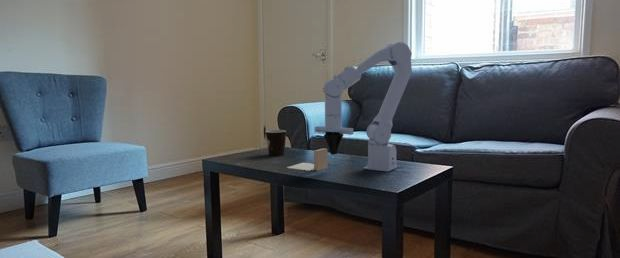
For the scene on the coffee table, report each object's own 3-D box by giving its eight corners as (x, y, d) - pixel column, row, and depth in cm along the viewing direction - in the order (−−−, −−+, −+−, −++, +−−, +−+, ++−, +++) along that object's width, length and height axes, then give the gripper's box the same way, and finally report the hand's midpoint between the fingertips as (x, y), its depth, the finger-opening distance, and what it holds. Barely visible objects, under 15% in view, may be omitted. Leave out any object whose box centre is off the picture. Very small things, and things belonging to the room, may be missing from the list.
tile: (327, 167, 163) (327, 148, 162) (318, 171, 158) (317, 151, 157) (323, 167, 164) (322, 148, 163) (313, 170, 159) (313, 150, 158)
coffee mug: (267, 153, 195) (266, 130, 194) (287, 152, 195) (286, 129, 194) (264, 158, 183) (263, 133, 182) (285, 157, 183) (285, 133, 182)
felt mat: (325, 166, 166) (325, 165, 166) (309, 171, 158) (309, 170, 157) (302, 163, 171) (302, 162, 171) (286, 168, 163) (286, 167, 163)
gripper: (309, 115, 156) (309, 153, 158) (345, 116, 148) (346, 157, 149) (320, 113, 162) (321, 150, 163) (356, 114, 154) (356, 154, 155)
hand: (333, 154), depth 157 cm, fingers closed
